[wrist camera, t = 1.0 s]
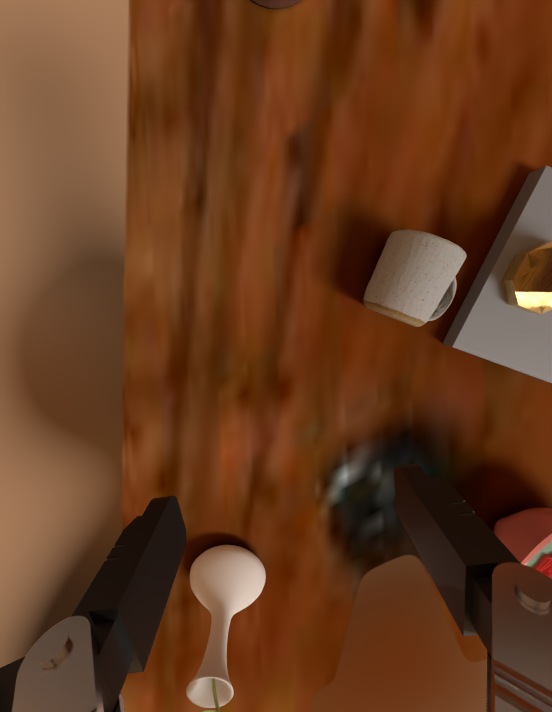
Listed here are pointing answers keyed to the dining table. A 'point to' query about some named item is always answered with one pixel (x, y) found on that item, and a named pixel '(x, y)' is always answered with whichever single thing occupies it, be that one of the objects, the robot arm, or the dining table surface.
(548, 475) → the dining table surface
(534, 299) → the gold hollow block
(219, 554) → the flower in vase
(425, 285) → the ceramic mug
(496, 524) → the cell model
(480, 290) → the carrier
